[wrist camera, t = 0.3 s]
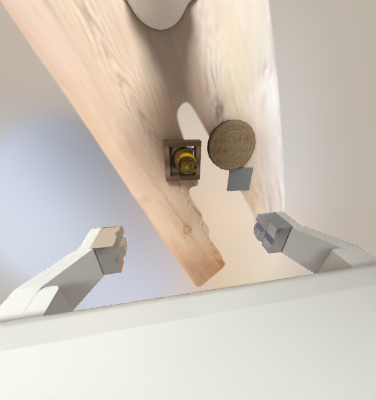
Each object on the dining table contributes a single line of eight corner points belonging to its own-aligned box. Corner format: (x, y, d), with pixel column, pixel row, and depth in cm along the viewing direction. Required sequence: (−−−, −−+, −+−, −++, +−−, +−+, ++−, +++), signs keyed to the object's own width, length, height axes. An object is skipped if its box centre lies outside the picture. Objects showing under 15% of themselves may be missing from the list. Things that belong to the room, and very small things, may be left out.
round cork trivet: (243, 109, 49) (247, 109, 46) (256, 153, 57) (260, 155, 54) (199, 135, 51) (201, 137, 48) (217, 175, 58) (220, 178, 56)
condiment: (193, 147, 52) (202, 155, 42) (190, 172, 56) (196, 184, 45) (172, 145, 50) (175, 152, 40) (170, 170, 54) (172, 182, 44)
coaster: (229, 168, 57) (230, 168, 57) (252, 167, 59) (253, 167, 58) (226, 190, 62) (227, 191, 61) (247, 189, 63) (248, 189, 62)
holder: (163, 140, 49) (163, 141, 46) (198, 139, 51) (201, 141, 48) (165, 177, 55) (166, 181, 52) (197, 175, 57) (199, 179, 54)
